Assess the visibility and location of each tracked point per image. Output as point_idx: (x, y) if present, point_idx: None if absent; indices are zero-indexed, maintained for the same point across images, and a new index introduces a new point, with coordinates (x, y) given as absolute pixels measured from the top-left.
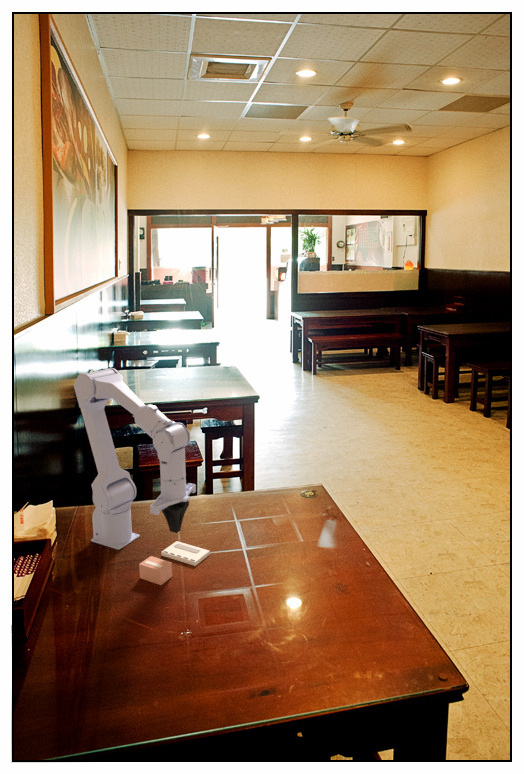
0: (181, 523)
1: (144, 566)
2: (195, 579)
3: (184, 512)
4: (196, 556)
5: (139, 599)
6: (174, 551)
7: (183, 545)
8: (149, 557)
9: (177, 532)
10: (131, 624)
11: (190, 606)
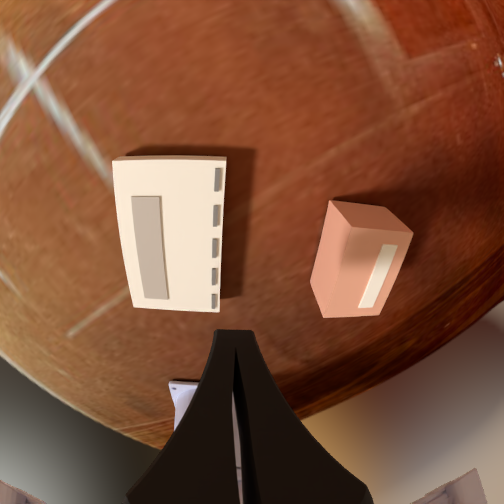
0: (213, 367)
1: (386, 295)
2: (311, 109)
3: (184, 443)
4: (180, 183)
5: (440, 226)
6: (194, 279)
7: (142, 274)
8: (335, 315)
9: (245, 330)
10: (500, 192)
11: (443, 74)
